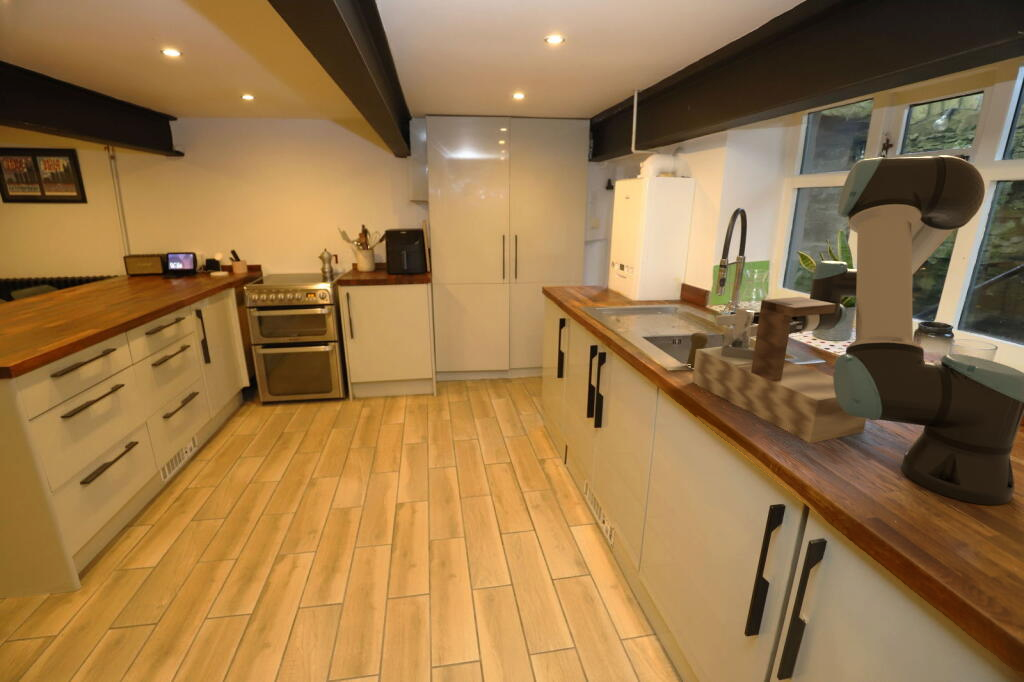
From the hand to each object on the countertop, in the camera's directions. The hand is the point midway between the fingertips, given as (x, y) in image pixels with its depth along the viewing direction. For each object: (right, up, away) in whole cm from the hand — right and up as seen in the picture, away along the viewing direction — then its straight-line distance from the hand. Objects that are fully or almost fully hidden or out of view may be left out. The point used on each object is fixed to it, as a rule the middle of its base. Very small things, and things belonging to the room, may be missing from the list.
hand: (732, 325), depth 125 cm
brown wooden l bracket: (+7, -12, -12) cm, 19 cm away
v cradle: (+4, -8, +4) cm, 9 cm away
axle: (+4, -7, +4) cm, 9 cm away
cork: (0, -12, +24) cm, 27 cm away
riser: (+7, -20, -4) cm, 22 cm away
